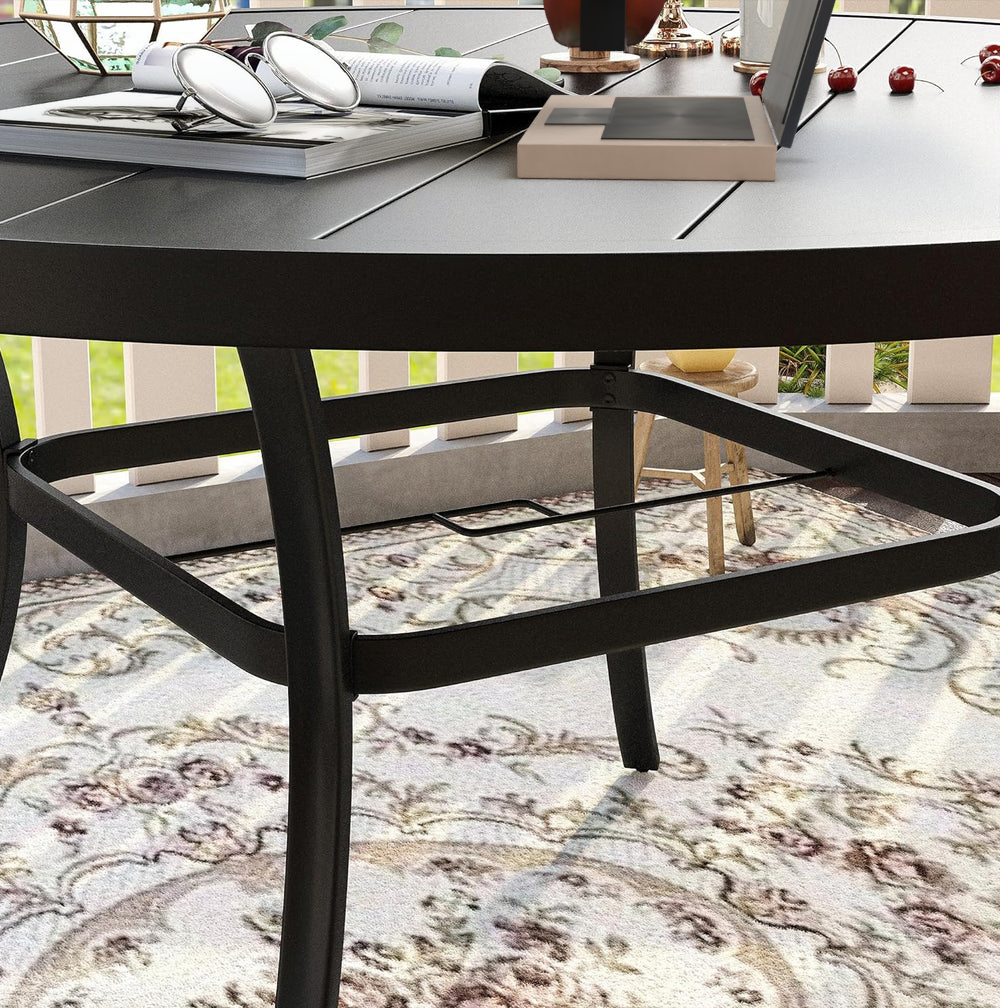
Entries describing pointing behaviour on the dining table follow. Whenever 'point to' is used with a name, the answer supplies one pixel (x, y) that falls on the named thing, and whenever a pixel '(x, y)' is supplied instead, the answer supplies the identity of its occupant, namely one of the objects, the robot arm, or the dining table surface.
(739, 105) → the beige flat box
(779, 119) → the laptop screen
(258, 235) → the dining table surface
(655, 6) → the fruit
